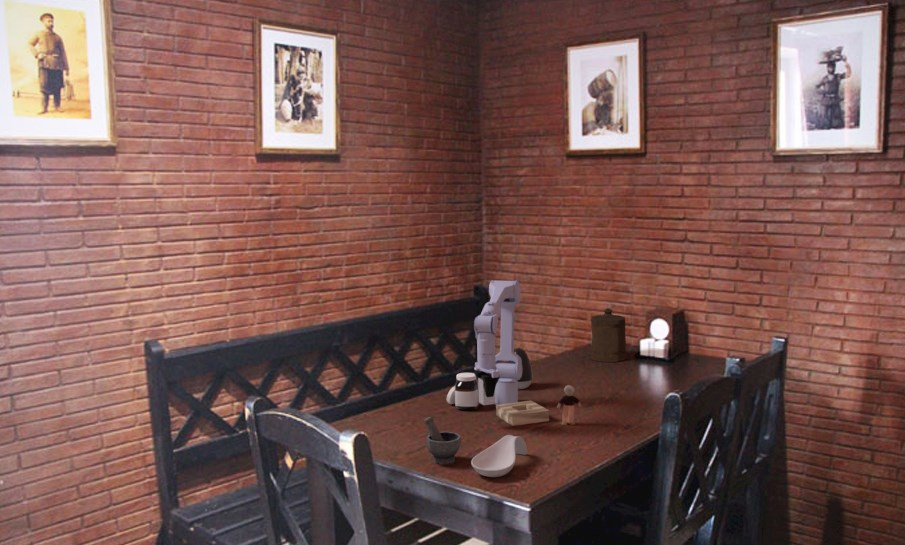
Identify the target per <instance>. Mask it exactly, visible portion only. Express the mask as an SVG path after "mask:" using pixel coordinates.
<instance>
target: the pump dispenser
mask: <svg viewBox="0 0 905 545" xmlns="http://www.w3.org/2000/svg"><path fill="white" fill-rule="evenodd" d="M514 352H515V353H516V354H517V355H518V356H520V358H521V360H522V377H521V378H520V380H518V390H524V389H527V388H529V386H531V384H532V380H534V376H533V369H532V365H531V361H530V357H529V356H528V354H527V352H526V350H524V349H523V348H521V347H517V348H514ZM509 362H514V361H509Z"/></svg>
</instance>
